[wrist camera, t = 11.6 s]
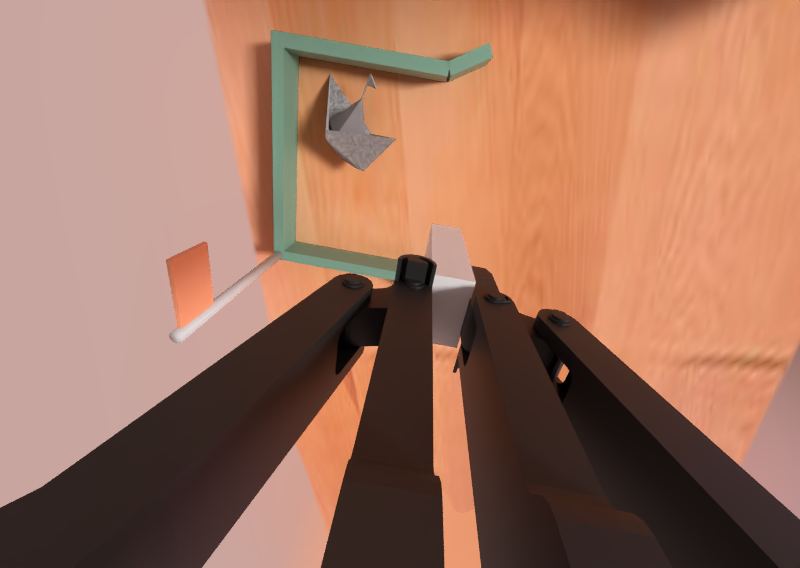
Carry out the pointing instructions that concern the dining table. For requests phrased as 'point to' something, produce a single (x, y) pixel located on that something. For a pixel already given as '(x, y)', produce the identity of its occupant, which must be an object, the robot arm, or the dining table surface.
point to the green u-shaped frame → (193, 264)
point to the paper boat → (351, 129)
